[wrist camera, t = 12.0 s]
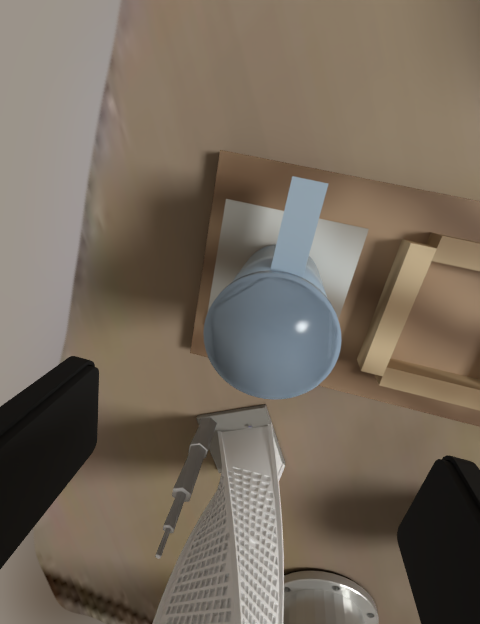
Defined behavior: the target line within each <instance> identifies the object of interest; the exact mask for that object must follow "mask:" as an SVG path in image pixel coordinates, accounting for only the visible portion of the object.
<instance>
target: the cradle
mask: <svg viewBox="0 0 480 624" xmlns="http://www.w3.org/2000/svg"><path fill="white" fill-rule="evenodd" d="M431 261H434V262H439V263H443V264H448V265H453V266H457V267H462V268H467V269H471V270H476V271H480V242H475V241H471V240H466V239H461V238H456V237H451V236H447V235H442V234H437V233H432V232H431V234H430V236H429V239H428V241H427V243H426V244H423V243H419V242H414V241H409V240H404V239H402V241H401V244H400V246H399V249H398V252H397V254H396V257H395V260H394V262H393V265H392V268H391V270H390V273H389V276H388V278H387V281H386V283H385V286H384V289H383V291H382V294H381V297H380V299H379V302H378V305H377V307H376V310H375V313H374V315H373V318H372V320H371V323H370V326H369V328H368V331H367V334H366V336H365V339H364V342H363V344H362V347H361V349H360V352H359V355H358V357H357V361H358V364H359V367H360V370H361V371H363V372H367V373H371V374H374V375H375V377H376V380H377V382H378V384H379V385H380V386H384V387H388V388H392V389H396V390H400V391H404V392H408V393H412V394H416V395H420V396H424V397H428V398H432V399H436V400H440V401H444V402H448V403H452V404H456V405H460V406H464V407H468V408H472V409H476V410H479V411H480V380H479V379H475V378H471V377H467V376H463V375H459V374H455V373H451V372H446V371H442V370H438V369H434V368H430V367H426V366H422V365H418V364H413V363H409V362H405V361H401V360H397V359H393V358H391V356H392V353H393V351H394V349H395V346H396V344H397V342H398V339H399V337H400V334H401V332H402V330H403V327H404V325H405V323H406V320H407V318H408V316H409V313H410V311H411V309H412V306H413V304H414V301H415V299H416V297H417V294H418V292H419V290H420V287H421V285H422V283H423V280H424V278H425V276H426V273H427V271H428V268H429V266H430V264H431Z"/></svg>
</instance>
